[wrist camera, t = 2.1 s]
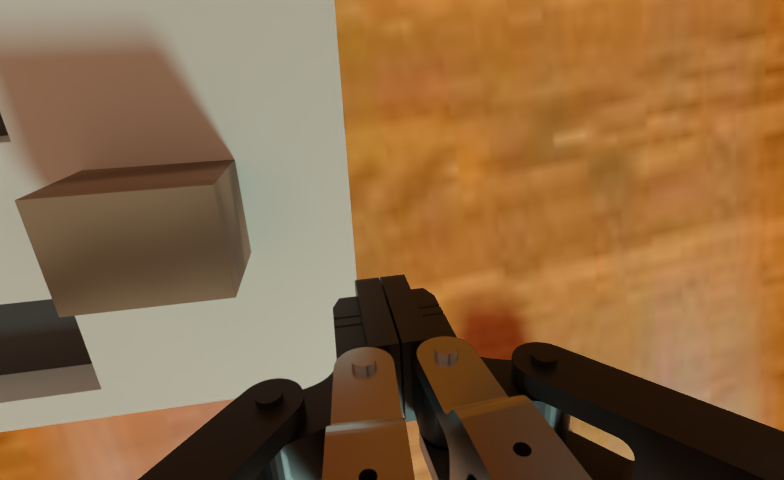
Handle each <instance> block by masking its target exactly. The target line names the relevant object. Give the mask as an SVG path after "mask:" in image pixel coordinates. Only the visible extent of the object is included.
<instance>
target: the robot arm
mask: <svg viewBox="0 0 784 480" xmlns="http://www.w3.org/2000/svg"><path fill="white" fill-rule="evenodd" d="M355 292H356V296H355V297H346V298H339V299H338V301H337V302H336V304H335V305H334V307H333V318H334V331H335V344H336V357H337V360H336V362H335V364H334V371H333V372H332V373H331V374H330V375H329V376H328V377H327V378H326V379H324V380H323V381H321V382H320V383H318V384H316V385H313V386H311V387H308V388H306V389H302V387H301V386H300V385H299V384H298V383H297V382H295V381H293V380H289V379H284V378H276V379H269V380H265V381H262V382H259V383H257V384H255V385H253V386H251V387H250V388H248V389H247V390H246V391H245V392H243V393H242V394H241V395H240V396H239V397H237V398H236V399H235V400H234V401H232V402H231V403H230V404H229V405H228V406H226V407H225V408H224V409H223V410H222V411H220V412H219V413H218V414H217V415H216V416H214V417H213V418H212V419H211V420H210V421H208V422H207V423H206V424H205V425H203V426H202V427H201V428H200V429H199V430H197V431H196V432H195V433H194V434H193V435H191V436H190V437H189V438H188V439H187V440H185V441H184V442H183V443H182V444H180V445H179V446H178V447H177V448H176V449H174V450H173V451H172V452H171V453H170V454H168V455H167V456H166V457H165V458H164V459H162V460H161V461H160V462H159V463H158V464H156V465H155V466H154V467H153V468H151V469H150V470H149V471H148V472H147V473H145V474H144V475H143V476H142V477H141V478H139V479H138V480H415V478H414V471H413V465H412V459H411V452H410V446H409V440H408V434H407V427H406V422H408V421H414V420H417V423H418V426H419V442H420V448H421V451H422V454H423V456H424V459H425V462H426V464H427V467H428V469H429V472H430V475H431V477H432V480H784V432H783V431H780V430H778V429H775V428H772V427H770V426H767V425H764V424H762V423H759V422H757V421H754V420H751V419H749V418H746V417H743V416H741V415H738V414H735V413H733V412H730V411H727V410H725V409H722V408H719V407H717V406H714V405H712V404H709V403H706V402H704V401H701V400H698V399H696V398H693V397H690V396H688V395H685V394H682V393H680V392H677V391H674V390H672V389H669V388H667V387H664V386H661V385H659V384H656V383H653V382H651V381H648V380H645V379H643V378H640V377H637V376H635V375H632V374H629V373H627V372H624V371H622V370H619V369H616V368H614V367H611V366H608V365H606V364H603V363H600V362H598V361H595V360H592V359H590V358H587V357H584V356H582V355H579V354H577V353H574V352H571V351H569V350H566V349H563V348H561V347H558V346H555V345H552V344H548V343H541V342H532V343H526V344H523V345H521V346H519V347H517V348H516V349H515V350H514V351H513V354H512V360H500V359H489V358H484V357H480V356H479V355H478V354H477V352H476V351H475V349H474V348H473V347H472V346H471V345H470V344H469V343H468V342H466V341H464V340H462V339H459V338H457V337H456V335H455V333H454V332H453V330H452V328H451V326H450V324H449V322H448V320H447V319H446V317H445V315H444V314H443V311H442V309H441V307H439V304H438V302H437V300H436V298H435V296H434V295H433V294H431V293H430V292H428V291H427V290H425V289H424V288H420V289H412V290H411V289H410V287H409V284H408V282H407V280H406V278H405V276H404V275H395V276H387V277H380V280H379V278H370V279H362V280H355ZM403 413H404V416H405V418H403ZM570 415H571V416H573V417H576V418H578V419H580V420H582V421H584V422H586V423H588V424H590V425H592V426H595V427H597V428H599V429H601V430H603V431H605V432H607V433H609V434H612V435H614V436H616V437H618V438H620V439H621V440H623V441H624V442H625V443H626V444H627V445H628V446H629V447H630V448H631V450H632V451H633V453H634V457H635V461H632V460H629V459H626V458H624V457H622V456H620V455H618V454H616V453H614V452H612V451H610V450H608V449H606V448H604V447H602V446H600V445H598V444H596V443H594V442H592V441H590V440H588V439H586V438H584V437H582V436H580V435H578V434H576V433H574V432H572V431H570V430H569V423H570ZM405 420H406V422H405Z"/></svg>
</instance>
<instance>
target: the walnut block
mask: <svg viewBox="0 0 784 480" xmlns="http://www.w3.org/2000/svg"><path fill="white" fill-rule="evenodd" d="M14 201H15V203H16V206H17V208H18V211H19V214H20V216H21V219H22V222H23V224H24V227H25V229H26V232H27V235H28V237H29V240H30V242H31V245H32V248H33V250H34V253H35V256H36V258H37V261H38V263H39V266H40V269H41V271H42V274H43V276H44V279H45V282H46V284H47V287H48V290H49V292H50V295H51V297H52V300H53V303H54V305H55V308H56V310H57V313H58V316H59V317H68V316H77V315H86V314H94V313H103V312H112V311H121V310H130V309H139V308H148V307H157V306H165V305H174V304H183V303H192V302H201V301H210V300H219V299H228V298H236V296H237V293H238V290H239V287H240V284H241V281H242V278H243V275H244V272H245V269H246V266H247V263H248V260H249V257H250V255H251V248H250V242H249V236H248V231H247V225H246V220H245V214H244V208H243V203H242V197H241V191H240V186H239V180H238V175H237V169H236V163H235V160H221V161H207V162H192V163H178V164H164V165H150V166H136V167H122V168H108V169H94V170H81V171H79V172H77V173H74V174H72V175H70V176H68V177H66V178H63V179H61V180H59V181H57V182H54V183H52V184H50V185H48V186H45V187H43V188H41V189H39V190H36V191H34V192H32V193H30V194H28V195H25V196H23V197H21V198H19V199H16V200H14Z"/></svg>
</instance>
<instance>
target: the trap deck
mask: <svg viewBox="0 0 784 480" xmlns="http://www.w3.org/2000/svg"><path fill="white" fill-rule="evenodd" d="M221 160H235V163H236V169H237V175H238V180H239V186H240V191H241V197H242V203H243V208H244V214H245V220H246V225H247V231H248V236H249V242H250V248H251V255H250V257H249V260H248V263H247V266H246V269H245V272H244V275H243V278H242V281H241V284H240V287H239V290H238V293H237V296H236V298H228V299H219V300H210V301H201V302H192V303H183V304H174V305H165V306H157V307H148V308H139V309H130V310H121V311H112V312H103V313H94V314H86V315H77V316H68V317H59V316H58V313H57V310H56V308H55V305H54V303H53V300H52V297H51V295H50V292H49V290H48V287H47V284H46V282H45V279H44V276H43V274H42V271H41V269H40V266H39V263H38V261H37V258H36V256H35V253H34V250H33V248H32V245H31V242H30V240H29V237H28V235H27V232H26V229H25V227H24V224H23V222H22V219H21V216H20V214H19V211H18V208H17V206H16V203H15V201H14V200H16V199H19V198H21V197H23V196H25V195H28V194H30V193H32V192H34V191H36V190H39V189H41V188H43V187H45V186H48V185H50V184H52V183H54V182H57V181H59V180H61V179H63V178H66V177H68V176H70V175H72V174H74V173H77V172H79V171H81V170H94V169H108V168H122V167H136V166H150V165H164V164H178V163H192V162H207V161H221ZM355 280H357V278H356V266H355V253H354V241H353V229H352V216H351V204H350V191H349V179H348V166H347V154H346V141H345V129H344V117H343V104H342V92H341V79H340V67H339V54H338V42H337V29H336V17H335V5H334V0H0V432H5V431H12V430H19V429H26V428H33V427H40V426H47V425H54V424H61V423H68V422H75V421H82V420H89V419H96V418H103V417H110V416H117V415H124V414H131V413H138V412H145V411H152V410H159V409H166V408H173V407H180V406H187V405H194V404H201V403H208V402H215V401H222V400H229V399H236V398H237V397H239V396H240V395H241V394H242V393H243V392H245V391H246V390H247V389H248V388H250V387H251V386H253V385H255V384H257V383H259V382H262V381H265V380H269V379H276V378H284V379H289V380H293V381H295V382H297V383H298V384H299V385H300V386H301V387H302V389H306V388H308V387H311V386H313V385H316V384H318V383H320V382H321V381H323V380H324V379H326V378H327V377H328V376H329V375H330V374H331V373H332V372H333V371H334V364H335V362H336V360H337V357H336V344H335V331H334V318H333V307H334V305H335V304H336V302H337V301H338V299H339V298H346V297H355V296H356V292H355Z"/></svg>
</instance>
